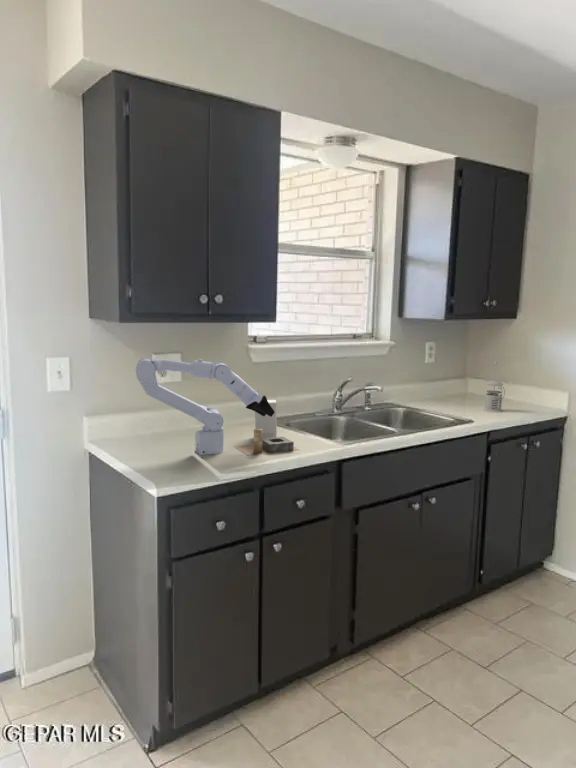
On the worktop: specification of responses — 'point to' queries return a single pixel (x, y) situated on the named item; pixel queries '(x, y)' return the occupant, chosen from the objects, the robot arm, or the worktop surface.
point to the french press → (494, 397)
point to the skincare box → (267, 422)
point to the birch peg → (258, 440)
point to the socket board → (251, 450)
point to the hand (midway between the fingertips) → (269, 414)
